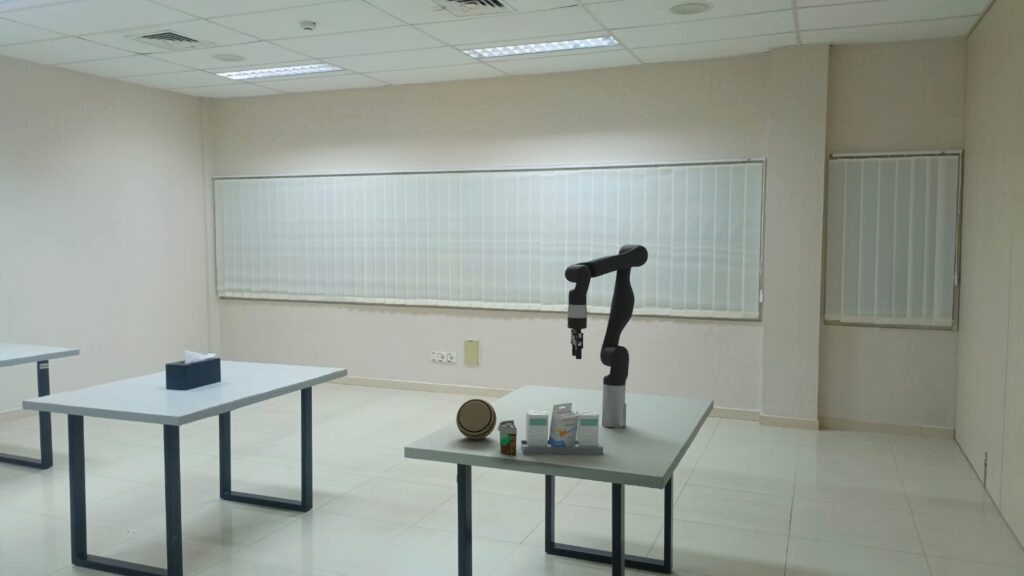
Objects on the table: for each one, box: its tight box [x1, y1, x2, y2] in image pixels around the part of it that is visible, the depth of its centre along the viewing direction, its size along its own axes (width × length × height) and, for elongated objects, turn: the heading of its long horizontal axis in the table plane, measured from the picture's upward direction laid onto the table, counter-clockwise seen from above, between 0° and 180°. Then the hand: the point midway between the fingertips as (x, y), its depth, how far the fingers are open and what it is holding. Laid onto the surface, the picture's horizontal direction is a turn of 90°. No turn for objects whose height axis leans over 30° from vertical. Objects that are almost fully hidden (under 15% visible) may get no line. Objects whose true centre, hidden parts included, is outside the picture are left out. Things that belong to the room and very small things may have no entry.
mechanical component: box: [455, 398, 497, 440], centre depth 276 cm, size 15×15×15 cm
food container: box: [497, 419, 518, 457], centre depth 259 cm, size 12×6×10 cm, turn 5°
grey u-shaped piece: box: [520, 410, 604, 455], centre depth 262 cm, size 28×10×14 cm, turn 94°
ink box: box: [548, 402, 579, 446], centre depth 261 cm, size 8×5×15 cm, turn 121°
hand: (576, 357), depth 287 cm, fingers open, 8 cm apart
